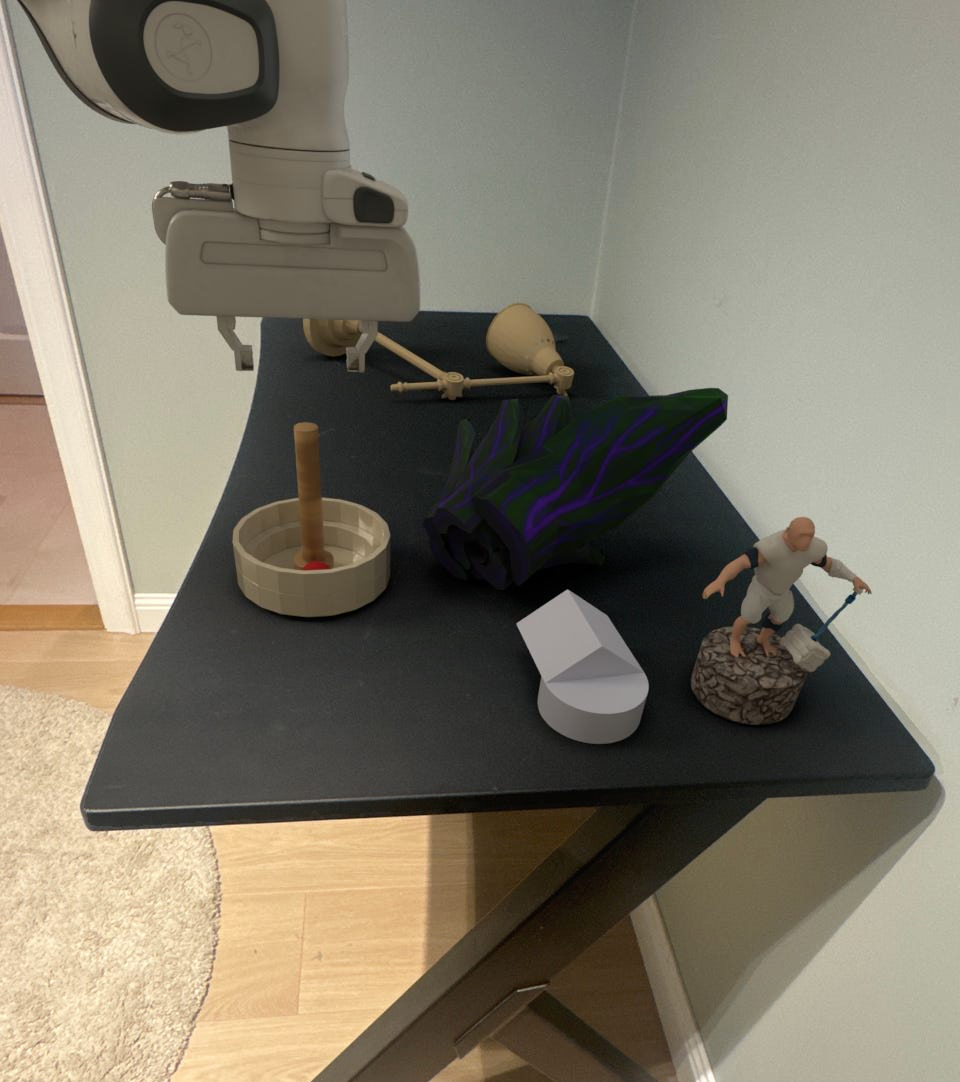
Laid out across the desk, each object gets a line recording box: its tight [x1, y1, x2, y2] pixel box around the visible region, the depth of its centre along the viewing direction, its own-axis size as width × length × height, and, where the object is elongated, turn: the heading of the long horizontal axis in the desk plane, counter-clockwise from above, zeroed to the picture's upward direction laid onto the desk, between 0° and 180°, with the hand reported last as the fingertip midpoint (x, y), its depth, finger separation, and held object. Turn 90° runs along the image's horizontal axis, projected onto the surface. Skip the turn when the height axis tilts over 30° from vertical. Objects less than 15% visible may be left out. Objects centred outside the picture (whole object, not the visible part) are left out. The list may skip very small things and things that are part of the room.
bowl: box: [232, 497, 392, 618], centre depth 79 cm, size 15×15×6 cm
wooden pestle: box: [293, 421, 334, 570], centre depth 76 cm, size 4×4×16 cm
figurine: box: [690, 516, 873, 726], centre depth 65 cm, size 15×9×18 cm, turn 99°
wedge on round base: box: [516, 589, 650, 745], centre depth 67 cm, size 9×7×13 cm
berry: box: [302, 561, 331, 571], centre depth 77 cm, size 3×3×3 cm
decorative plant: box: [422, 387, 729, 591], centre depth 83 cm, size 21×26×30 cm
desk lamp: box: [302, 302, 575, 401], centre depth 131 cm, size 15×35×40 cm
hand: (301, 369), depth 68 cm, fingers open, 8 cm apart
